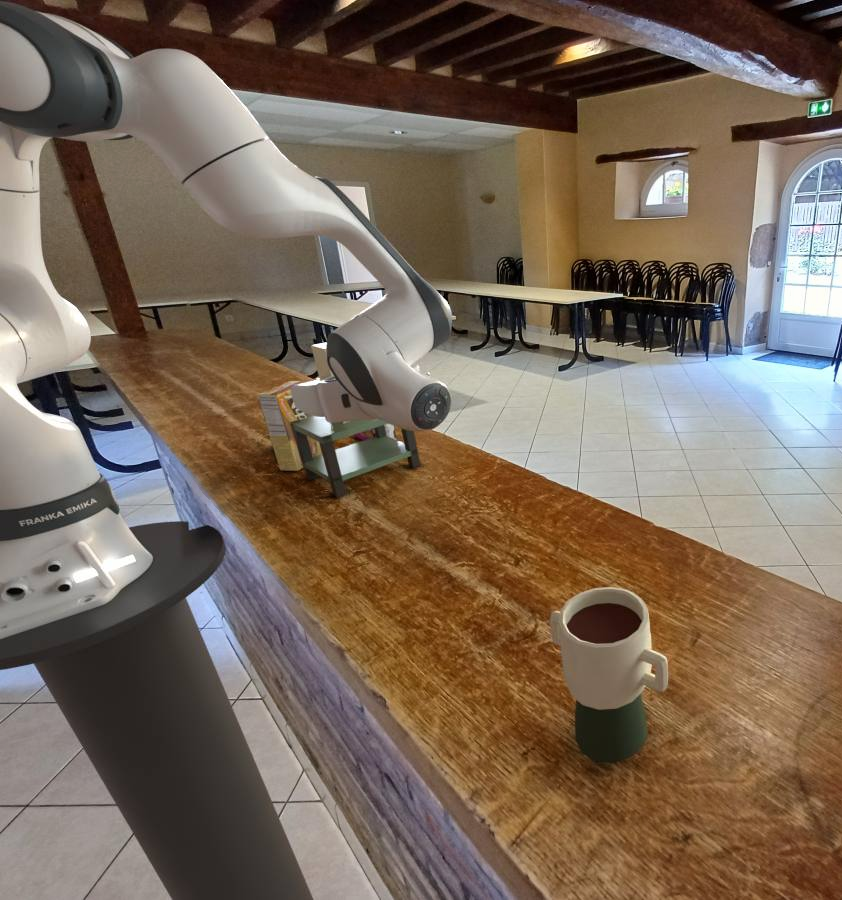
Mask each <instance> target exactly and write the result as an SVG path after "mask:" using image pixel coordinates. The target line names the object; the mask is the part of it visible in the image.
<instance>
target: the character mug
mask: <svg viewBox="0 0 842 900" xmlns="http://www.w3.org/2000/svg"><path fill="white" fill-rule="evenodd" d="M549 624H550V633H551V639H552V642H553V643H554V644H555V645H557V646H558V647H560V653H561V655H560V656H561V663H562V664H561V665H562V675H563V679H564V681H565V684H566V687H567V689H568V691H569V694H570V696H571V697H572V698H573V699H575V708H574V737H575V738H574V740H575V743H576V744H577V746H578V748H579V749H580V751H581V753H582V754H583V755H584V756H585V757H588V758H589V759H591V760H593V761H595V762H596V763H599V764H616V763H619V762H622V761H624V760H626V759H629V758H632V757H633V756H634V755H635V754H636V753H637V752H638V751H639V750H640V749H641V748H642V747H643V746H644V745H645V742H646V740H647V737H648V735H649V732H648V724H647V717H646V712H645V706H644V702H643V697H642V693H643V691H644V689H646V687H647V688H650V689H652V690H655V691H656V692H665V691H667V688H668V686H669V684H668V683H669V662H668V659H667V657H666V656H665V655H664V654H662V653H661V652H658V651H656V650H653V648H652V646H653V645H652V634H651V623H650V616H649V608H648V606H647V604H646V603H645V602H644V600H643V599H642V598H641V597H640V596H638V595H637V594H636V593H635V592H632V591H630V590H628V589H625V588H620V587H614V586H613V587H611V586H607V587H605V586H604V587H595V588H591V589H588V590H585V591H582V592H579V593H577V594H576V595H574V596H573V597H571V598H568V600H566V602H565V603H564V604H563V606H562V607H561V609H560V610H555V611H551V613H550V617H549ZM652 666H653V667H654V673H652Z"/></svg>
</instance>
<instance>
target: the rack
mask: <svg viewBox="0 0 842 900" xmlns="http://www.w3.org/2000/svg"><path fill="white" fill-rule="evenodd" d="M290 424H291V427H292V430H293V434H294V437H295V441H296V444H297V448H298V451H299V455H300V458H301V462H302V465H303V468H302V469H303V473H304V475H305V478H306V479H307V480H309V481H311V480H314V479H317V478H319V477H321V478H323V479H325V480H326V481H328V482H329V484H330V488H331V491H332V495H333V496H334V497H335V498H340V497H342V496H345V495H347V490H346V487H345V483H344V481H347V480H350V479H352V478H354V477H358V476H360V475H363V474H366V473H368V472H371V471H373V470H377V469H379V468H382V467H385V466H387V465H390V464H393V463H395V462H399V461H401V460H404V459H406V458H407V459H406V460H407V463H408V466H409V467H410V468H412V469H416V468H417V467H420V466H421V460H420V455H419V449H418V445H417V444H418V443H417V439H416V434H415V431H410V430H406V429H402V428H400V429H401V434H402V440H403V441H400V440H398V439H397V440H395V439H393V438H391V437H388V436H387V435H386V430H385V424H389V423H387V422H385V421H382V420H378V419H372V420H367V419H360V420H353V421H350V422H346V423H341V422H338V423H329V422H327V421H326V419H325V417H317V416H311V417H307V418H304V419H300V420H296V421H293V422H290ZM373 428H374V432H375V436H376V437H373V438H370V439H367V440H364V441H362V440H361V441H359V442H356V443H352V444H349V445H346V446H343V447H340V448H337V449H336V448H335V445H334V441H337V440H340V439H344V438H347V437H350V436H353V434H357V433H360V432H363V431H366V430H369V429H373ZM307 436H308V437H310V438H312V439H314V440H316V441H318V442H319V444H320V448H321V451H322V454H321V455H318V456H315V457H313V456H312V453H311V449H310V446H309V442H308V438H307Z"/></svg>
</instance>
